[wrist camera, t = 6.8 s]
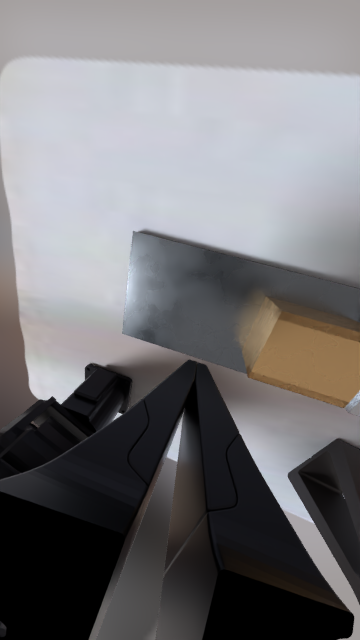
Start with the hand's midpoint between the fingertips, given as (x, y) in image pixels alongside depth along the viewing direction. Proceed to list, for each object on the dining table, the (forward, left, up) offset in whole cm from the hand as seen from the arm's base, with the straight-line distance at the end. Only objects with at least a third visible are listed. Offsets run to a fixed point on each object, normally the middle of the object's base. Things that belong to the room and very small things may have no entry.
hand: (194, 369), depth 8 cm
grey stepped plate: (0, -4, -10) cm, 11 cm away
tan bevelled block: (0, -8, -9) cm, 12 cm away
